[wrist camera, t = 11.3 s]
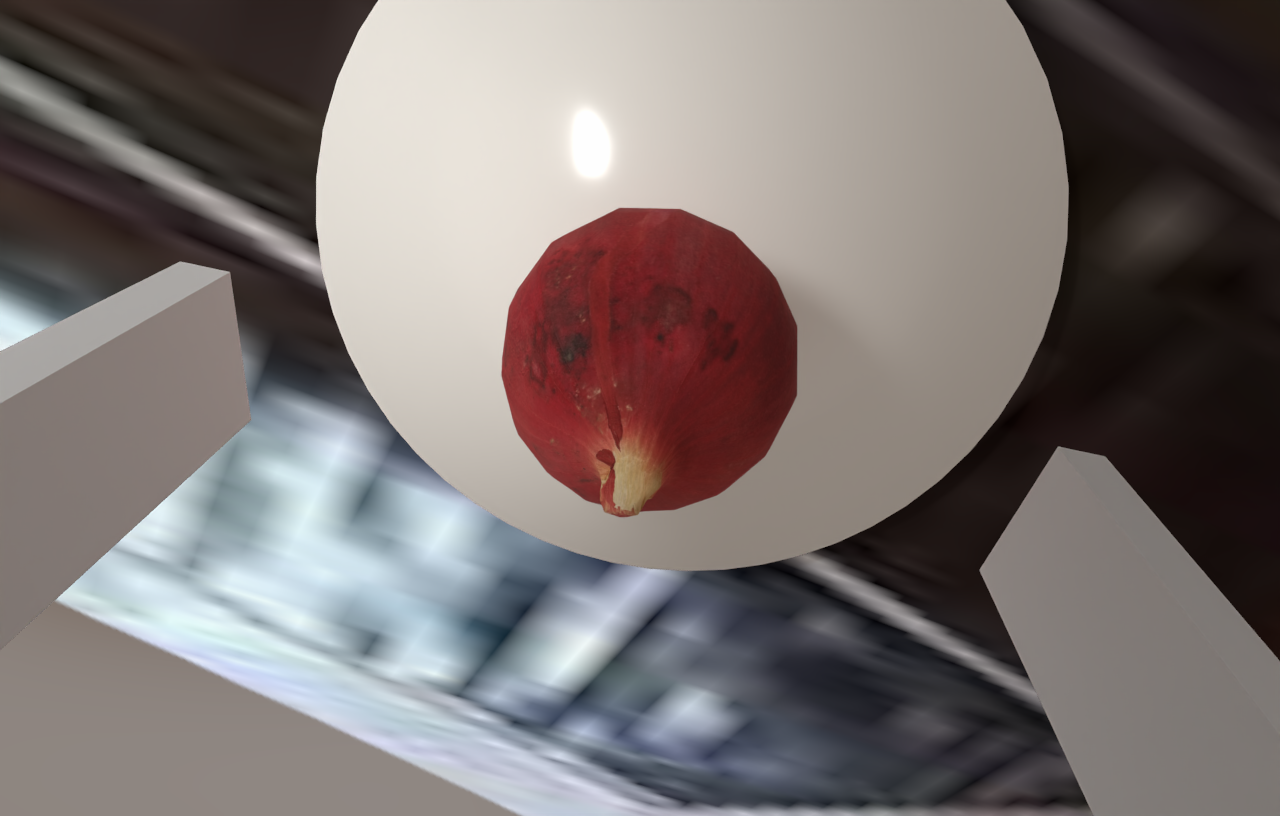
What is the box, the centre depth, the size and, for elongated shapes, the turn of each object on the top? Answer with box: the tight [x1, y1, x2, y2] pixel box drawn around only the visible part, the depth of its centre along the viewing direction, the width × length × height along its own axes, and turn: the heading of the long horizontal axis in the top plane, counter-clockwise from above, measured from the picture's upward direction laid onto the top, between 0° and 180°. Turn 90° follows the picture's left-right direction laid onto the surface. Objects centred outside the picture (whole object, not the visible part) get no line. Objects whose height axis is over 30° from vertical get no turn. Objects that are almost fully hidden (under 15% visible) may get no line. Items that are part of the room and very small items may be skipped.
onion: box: [501, 208, 797, 517], centre depth 13 cm, size 6×6×8 cm
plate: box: [316, 0, 1069, 571], centre depth 17 cm, size 18×18×1 cm
